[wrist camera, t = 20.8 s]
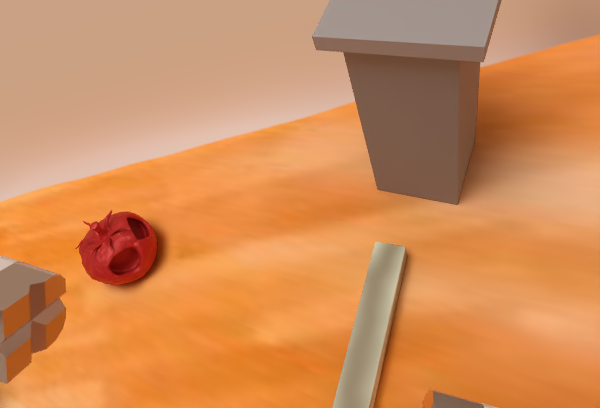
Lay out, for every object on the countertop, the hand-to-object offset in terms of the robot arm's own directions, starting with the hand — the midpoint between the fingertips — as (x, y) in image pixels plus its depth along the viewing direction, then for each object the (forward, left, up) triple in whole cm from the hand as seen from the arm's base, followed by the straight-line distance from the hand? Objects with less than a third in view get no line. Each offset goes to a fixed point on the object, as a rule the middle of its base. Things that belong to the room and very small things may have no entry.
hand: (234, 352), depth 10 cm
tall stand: (+6, -34, -43) cm, 55 cm away
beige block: (+6, -11, -44) cm, 46 cm away
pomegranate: (+41, -11, -44) cm, 61 cm away
